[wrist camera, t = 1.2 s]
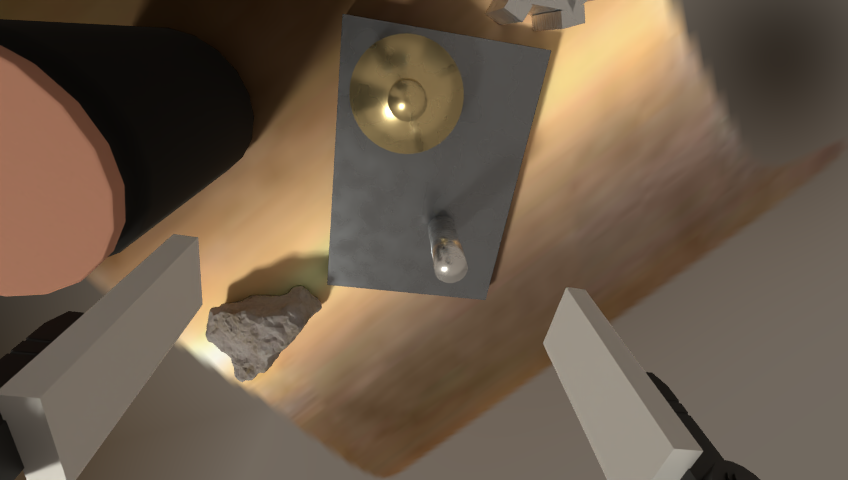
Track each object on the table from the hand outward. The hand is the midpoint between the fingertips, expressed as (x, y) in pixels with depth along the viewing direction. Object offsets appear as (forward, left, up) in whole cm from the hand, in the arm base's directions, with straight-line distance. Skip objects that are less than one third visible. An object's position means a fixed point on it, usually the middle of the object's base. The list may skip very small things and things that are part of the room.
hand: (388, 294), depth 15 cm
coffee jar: (-1, -16, -21) cm, 27 cm away
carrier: (+2, +3, -21) cm, 21 cm away
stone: (+18, -10, -21) cm, 29 cm away
